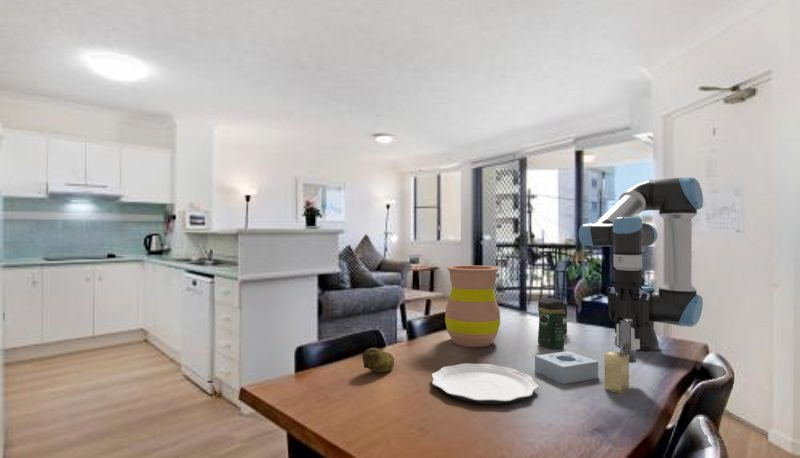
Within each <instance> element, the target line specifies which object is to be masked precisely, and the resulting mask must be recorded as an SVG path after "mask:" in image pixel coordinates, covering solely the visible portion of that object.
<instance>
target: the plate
mask: <svg viewBox="0 0 800 458" xmlns="http://www.w3.org/2000/svg"><path fill="white" fill-rule="evenodd" d="M431 377H432V378H431V379H432V382H431V384H432V385H433V387H436V388H438V389H440V390H442V391H443V392H445V393H446V394H447V395H449V396H451V397H452V398H455V399H458V400H461V401H465V402H469V403H475V404H482V405H502V404H510V403H513V402H517V401H519V400H522V399H527V398H529V397H531V396H532V395H533V393H534V392H535V390H537V389H539V385H538V383H536V382H535V381H534V379H533V377H532V376H531V375H529V374H526V373H524V372H520V371H518V370H516V369H515V368H512V367H507V366H500V365H496V364H491V363H465V362H464V363H460V364H455V365H447V366H443V367H441V368H440V369H439V370H437V371H436V372H433V373H432V374H431Z"/></svg>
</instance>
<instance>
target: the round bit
mask: <svg viewBox="0 0 800 458" xmlns="http://www.w3.org/2000/svg"><path fill="white" fill-rule="evenodd" d="M632 326H633V321H632V319H620V346H619V353H623V354H628V355H629V364H635V363H636V362H637V350H631V327H632Z"/></svg>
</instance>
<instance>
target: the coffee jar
mask: <svg viewBox="0 0 800 458" xmlns="http://www.w3.org/2000/svg"><path fill="white" fill-rule="evenodd" d="M562 301H563V300H559V299H555V298H549V297H544V298H543V297H542V298H539V300H538V302H537V303H538V305H537V310H538V316H539V317H538V333H537V335H538V336H537V344H538V345H539V346H541V347H545V348H546V349H551V350H552V349H556V350H560V349H563V348H564V347H565V336H564V332H563V313H564V303H563V302H562Z"/></svg>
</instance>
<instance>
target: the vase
mask: <svg viewBox="0 0 800 458" xmlns="http://www.w3.org/2000/svg"><path fill="white" fill-rule="evenodd" d="M445 268H446V269H447V270H448V271H449V279H450V283H451V288H452V289H451V290H450V295H449V298H448V300H447V303H446V306H445V314H444V315H445V318H444V321H445V326H446V330H447V334H448V335H449V337H450V339H451V340H452V342H453V343H454V344H455V345H458V346H461V347H467V348H468V347H469V348H484V347H489V346H490V345H492V343H493V342H494V340H495V339H496V337H497V335H498V332H499V329H500V324H501V312H500V307H499V304H498V302H497V301H498V300H497V298H496V295H495V292H494V291H495V290H494V287H495V284H496V283H495V282H496V279H497V272H498V271H499V270H500V269H501V268H500V267H498V266H491V265H489V266H488V265H470V264H469V265H464V264H463V265H448V266H446V267H445Z"/></svg>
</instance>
